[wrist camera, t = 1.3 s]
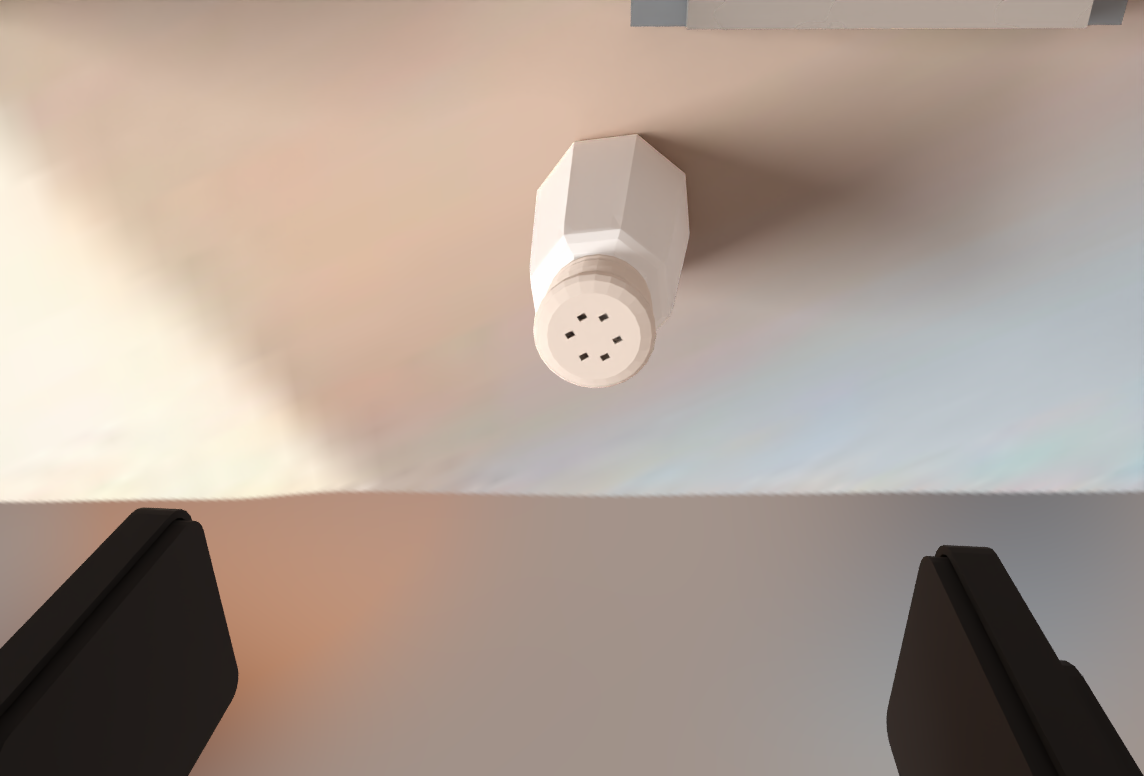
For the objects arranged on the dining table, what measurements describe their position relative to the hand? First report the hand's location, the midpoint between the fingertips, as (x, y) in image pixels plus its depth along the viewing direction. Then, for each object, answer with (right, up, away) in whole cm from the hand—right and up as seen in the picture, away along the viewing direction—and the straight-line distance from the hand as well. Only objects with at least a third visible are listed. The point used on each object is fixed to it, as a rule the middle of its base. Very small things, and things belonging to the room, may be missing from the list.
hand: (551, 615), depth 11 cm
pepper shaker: (+2, +9, +18) cm, 20 cm away
